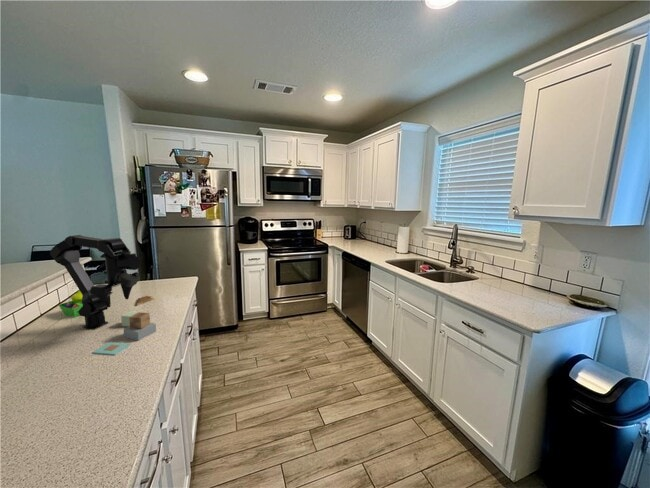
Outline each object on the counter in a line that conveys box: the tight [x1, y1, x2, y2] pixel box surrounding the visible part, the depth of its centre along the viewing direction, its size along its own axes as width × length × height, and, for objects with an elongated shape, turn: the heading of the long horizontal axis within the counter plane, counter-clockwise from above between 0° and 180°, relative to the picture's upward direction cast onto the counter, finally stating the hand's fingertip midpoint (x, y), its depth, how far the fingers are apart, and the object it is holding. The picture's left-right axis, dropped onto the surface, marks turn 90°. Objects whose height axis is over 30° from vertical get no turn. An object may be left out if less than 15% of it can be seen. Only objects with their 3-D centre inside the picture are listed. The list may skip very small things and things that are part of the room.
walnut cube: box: [129, 311, 151, 329], centre depth 112 cm, size 5×5×5 cm
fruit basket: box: [58, 289, 83, 318], centre depth 130 cm, size 11×9×11 cm
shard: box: [135, 295, 155, 306], centre depth 148 cm, size 11×8×2 cm
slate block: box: [123, 322, 157, 341], centre depth 113 cm, size 8×8×4 cm
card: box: [92, 341, 131, 356], centre depth 102 cm, size 9×7×1 cm
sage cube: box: [120, 310, 139, 327], centre depth 122 cm, size 5×5×5 cm
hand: (118, 302), depth 115 cm, fingers open, 9 cm apart
